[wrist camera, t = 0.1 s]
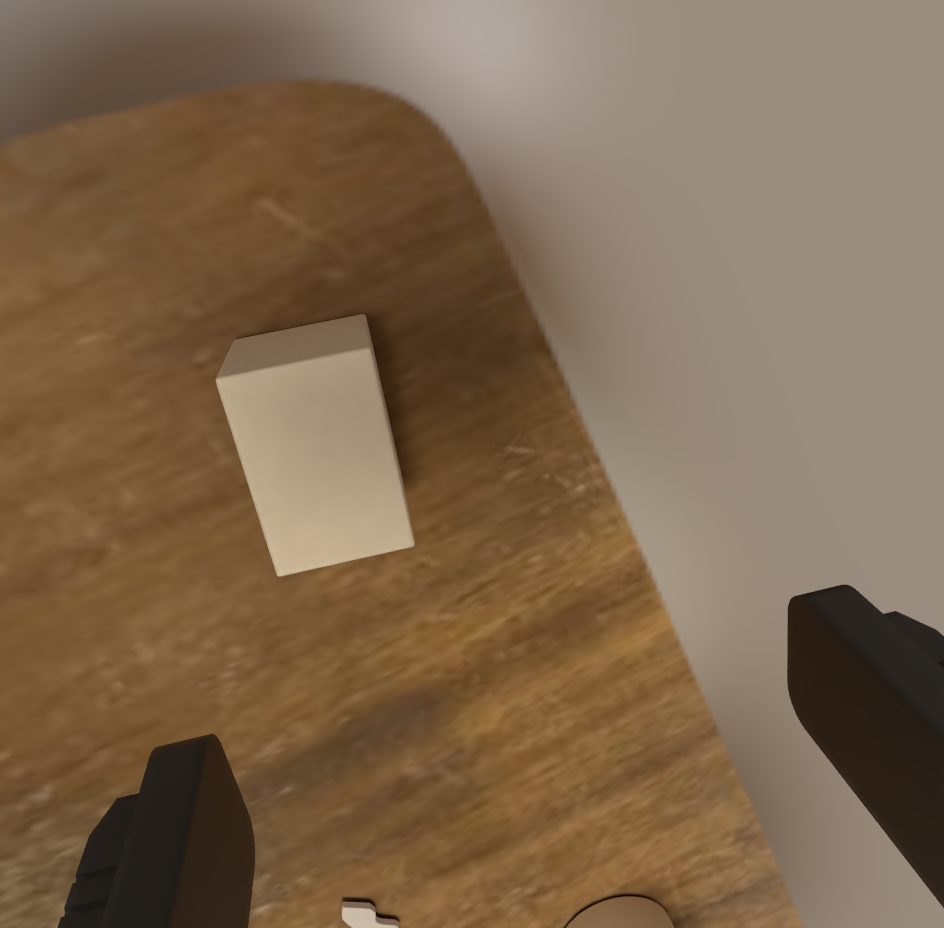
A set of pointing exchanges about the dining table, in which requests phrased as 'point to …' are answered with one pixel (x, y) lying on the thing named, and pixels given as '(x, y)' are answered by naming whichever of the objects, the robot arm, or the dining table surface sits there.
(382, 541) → the tea packet
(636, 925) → the candle
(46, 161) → the dining table surface
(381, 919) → the key
